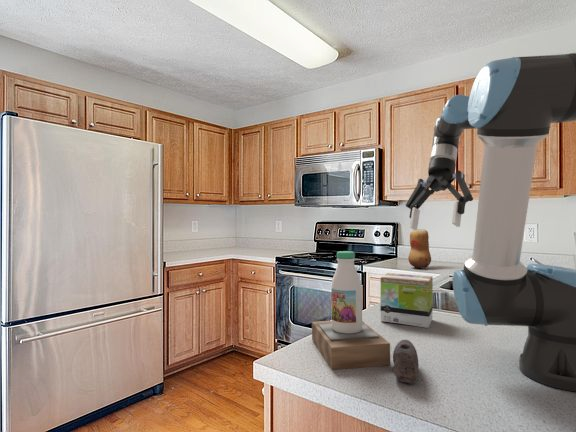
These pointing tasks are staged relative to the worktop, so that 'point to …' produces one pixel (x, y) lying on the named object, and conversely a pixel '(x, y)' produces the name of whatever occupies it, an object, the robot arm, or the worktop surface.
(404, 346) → the perforated stone tool
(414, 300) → the tea box
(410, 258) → the butternut squash
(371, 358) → the walnut stand
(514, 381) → the worktop surface
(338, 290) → the milk bottle
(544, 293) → the robot arm
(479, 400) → the worktop surface
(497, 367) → the worktop surface
